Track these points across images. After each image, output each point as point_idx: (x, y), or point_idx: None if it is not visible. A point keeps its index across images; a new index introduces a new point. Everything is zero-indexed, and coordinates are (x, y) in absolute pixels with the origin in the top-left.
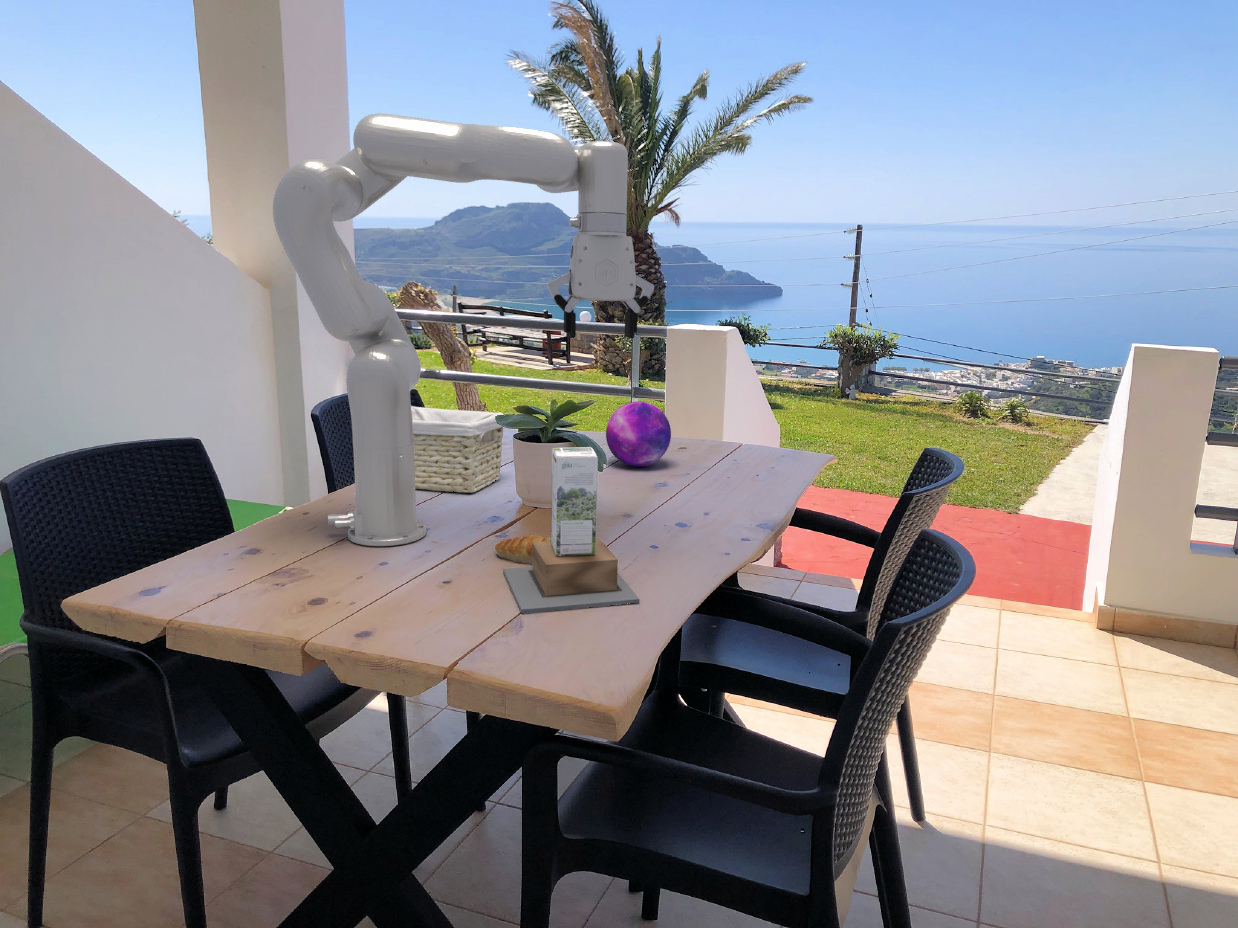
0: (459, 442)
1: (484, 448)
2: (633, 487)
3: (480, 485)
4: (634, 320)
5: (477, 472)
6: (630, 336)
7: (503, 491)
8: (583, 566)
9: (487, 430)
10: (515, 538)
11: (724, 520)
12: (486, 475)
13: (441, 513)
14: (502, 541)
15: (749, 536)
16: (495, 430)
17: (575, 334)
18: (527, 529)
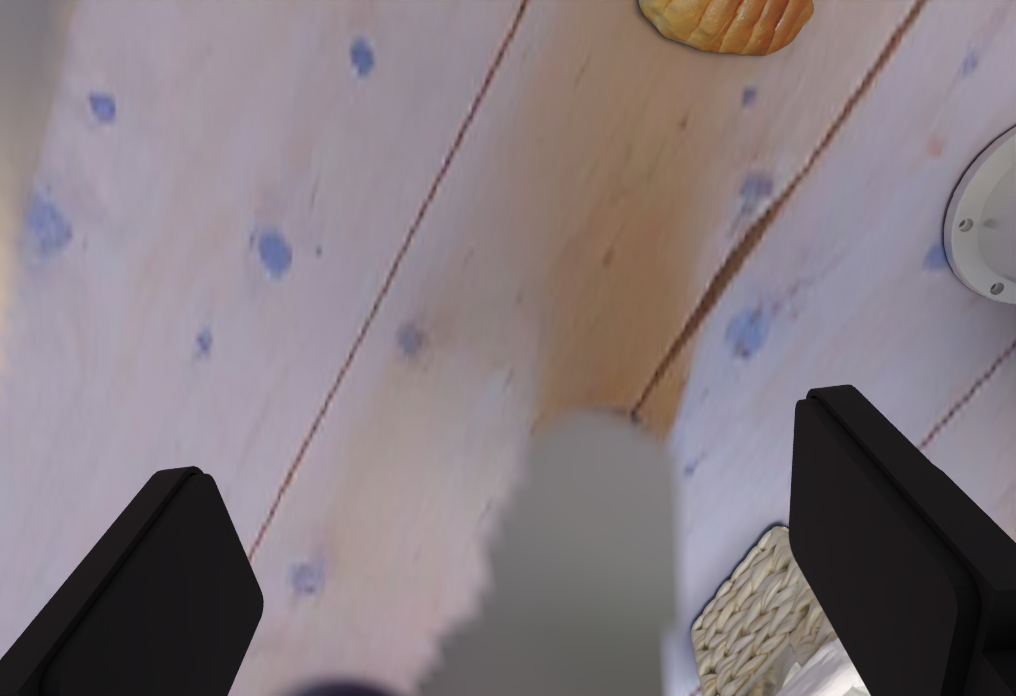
0: None
1: (766, 655)
2: (376, 562)
3: (748, 566)
4: (47, 605)
5: (771, 579)
6: (195, 473)
7: (692, 546)
8: None
9: (781, 692)
10: (766, 1)
11: (157, 284)
12: (736, 598)
13: (870, 385)
14: (800, 4)
15: (90, 135)
16: None
17: (810, 412)
18: (681, 239)
